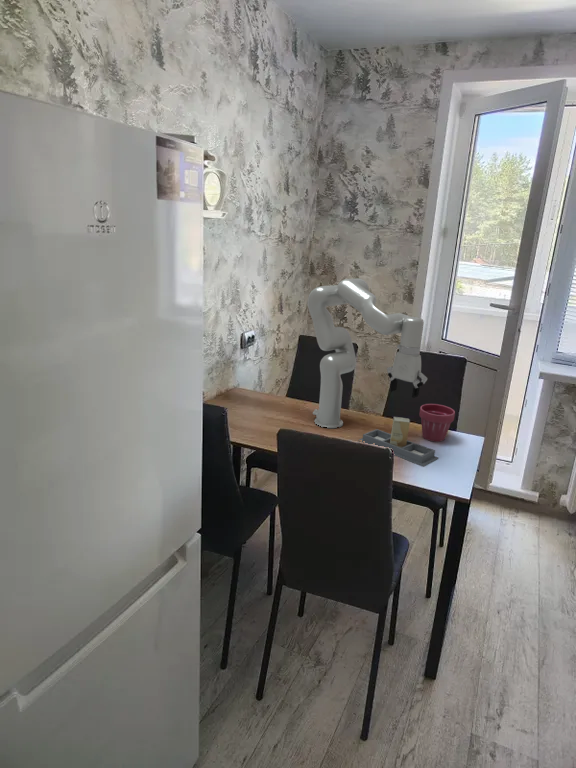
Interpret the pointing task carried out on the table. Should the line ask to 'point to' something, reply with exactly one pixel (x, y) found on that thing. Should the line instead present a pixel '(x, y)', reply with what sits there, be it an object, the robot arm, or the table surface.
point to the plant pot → (435, 421)
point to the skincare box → (399, 431)
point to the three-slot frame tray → (408, 452)
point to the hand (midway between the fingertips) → (403, 393)
